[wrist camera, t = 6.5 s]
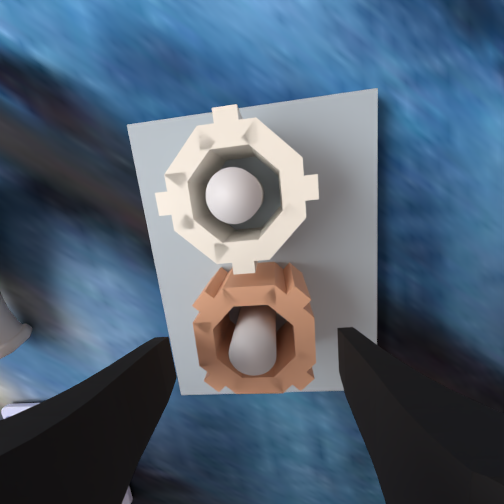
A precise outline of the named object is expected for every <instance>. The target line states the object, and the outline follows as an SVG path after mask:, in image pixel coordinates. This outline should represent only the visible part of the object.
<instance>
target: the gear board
mask: <svg viewBox="0 0 504 504" xmlns="http://www.w3.org/2000/svg"><path fill="white" fill-rule="evenodd" d="M239 111H240V113H241V115H242V118H243V119H248V118H255V117H256V118H258V119H259V120H260V121H261V122H262V123H263V124H264V125H266V126H267V127H268V128H269V129H270V130H271V131H273V132H274V133H275V134H276V135H277V136H278V137H280V138H281V139H282V140H283V141H284V142H285V143H286V144H288V145H289V146H290V147H291V148H292V149H293V150H295V151H296V152H297V153H298V154H299V155H300V156H302V157H303V171H304V176H305V175H314V174H318V189H319V199H317V200H307V201H305V204H306V218H305V220H304V221H303V222H302V223H301V224H300V225H299V227H298V228H297V229H296V230H295V231H294V232H293V233H292V235H291V236H290V237H289V238H288V239H287V240H286V242H285V243H284V244H283V245H282V246H281V247H280V248H279V250H278V251H277V252H276V253H275V254H274V255H273V256H272V258H271V259H270V260H260V261H258V263H263V262H275V263H277V264H278V265H279V266H280V267H281V268H283V269H284V268H285V267H286V266H287V265H288V263H289V262H290V263H291V264H292V265H293V266H294V267H296V268H297V269H298V270H299V271H300V272H302V274H303V277H304V280H305V283H306V286H307V289H308V291H309V294H310V297H311V301H310V305H311V309H312V312H313V315H314V321H315V346H316V364H314V365H313V366H312V369H313V373H314V378H315V379H314V380H313V381H312V382H311V383H309V384H308V385H307V386H306V387H305V388H304V389H303V390H302V391H300V390H299V389H297V388H296V387H295V386H293V385H291V386H290V387H289V388H288V389H287V390H286V391H285V392H308V391H343V390H344V388H343V385H342V381H341V377H340V374H339V361H338V333H337V328H344V327H354V328H355V329H356V330H358V331H359V332H360V333H362V334H363V335H364V336H366V337H367V338H368V339H370V340H371V341H373V342H374V343H375V344H377V164H378V88H375V89H368V90H361V91H354V92H347V93H340V94H334V95H327V96H320V97H313V98H306V99H300V100H293V101H286V102H279V103H272V104H265V105H259V106H252V107H245V108H239ZM212 123H214V122H213V114H212V112H211V113H204V114H197V115H190V116H184V117H177V118H170V119H163V120H156V121H149V122H143V123H136V124H129V125H127V128H128V133H129V138H130V143H131V148H132V153H133V158H134V163H135V168H136V173H137V178H138V183H139V187H140V192H141V197H142V202H143V207H144V212H145V217H146V222H147V227H148V232H149V237H150V242H151V247H152V252H153V257H154V262H155V267H156V272H157V277H158V282H159V287H160V292H161V297H162V302H163V306H164V311H165V316H166V321H167V326H168V331H169V336H170V341H171V346H172V351H173V356H174V361H175V366H176V371H177V376H178V381H179V386H180V391H181V395H203V394H236V393H234V392H233V391H232V390H230V389H229V388H228V387H226V386H225V387H224V388H223V389H222V390H221V391H220V392H218V391H216V390H215V389H214V388H212V387H211V386H210V385H208V384H207V383H206V382H204V379H205V376H206V373H207V371H205V370H204V369H203V368H201V367H200V366H199V360H198V354H197V348H196V342H195V335H194V329H193V321H194V320H195V318H196V316H197V315H198V313H199V311H198V310H197V309H195V308H194V307H193V306H192V305H193V304H194V302H195V301H196V299H197V298H198V296H199V295H200V294H201V292H202V291H203V289H204V288H205V287H206V285H207V284H208V282H209V281H210V280H211V278H212V277H213V276H214V275H215V273H216V272H217V271H218V270H219V269H220V267H222V268H223V269H224V270H226V271H227V272H229V271H230V270H231V269H232V263H224V264H216V263H215V262H213V261H212V260H211V259H210V258H208V257H207V256H206V255H205V254H203V253H202V252H201V251H199V250H198V249H197V248H196V247H194V246H193V245H192V244H191V243H189V242H188V241H187V240H185V239H184V238H183V237H182V236H180V235H179V234H178V233H177V232H175V231H174V227H173V221H172V216H171V215H165V216H159V212H158V207H157V202H156V197H155V193H158V192H167V188H166V182H165V177H164V174H165V173H166V171H167V170H168V168H169V167H170V165H171V164H172V162H173V161H174V159H175V158H176V156H177V155H178V153H179V152H180V150H181V149H182V147H183V146H184V144H185V143H186V141H187V140H188V138H189V137H190V135H191V134H192V132H193V131H194V129H195V128H196V126H198V125H205V124H212ZM206 202H207V205H208V208H209V210H210V211H211V213H212V214H213V215H214V216H215V217H216V218H217V219H219V220H220V221H222V222H225V223H228V224H229V225H230V226H231V227H233V228H234V229H235V230H237V229H248V228H258V227H263V226H264V225H265V223H266V222H267V221H268V220H269V219H270V217H271V216H272V215H273V214H274V212H275V211H276V210H277V209H278V208H279V206H280V193H279V181H278V175H276V174H275V173H274V172H273V171H272V170H271V169H269V168H268V167H267V166H266V165H265V164H263V163H262V162H261V161H260V160H259V159H258V158H256V157H249V158H241V159H233V160H227V161H226V162H225V163H224V165H223V166H222V167H221V169H220V170H219V171H218V172H217V173H215V174H214V175H213V176H212V178H211V179H210V181H209V183H208V185H207V188H206ZM229 318H230V321H232V322H233V323H234V324H235V325H236V326H235V330H234V333H233V337H232V341H231V344H230V348H229V359H230V362H231V363H232V365H233V366H234V367H235V368H236V369H237V370H238V371H240V372H241V373H243V374H246V375H252V376H256V375H261V374H264V373H266V372H268V371H269V370H270V369H271V368H272V367H273V366H274V364H275V362H276V332H277V331H278V330H279V329H280V328H281V327H282V326H283V325H284V324H285V323H286V322H287V320H286V319H285V318H283V317H282V316H281V315H280V314H279V313H277V312H276V311H275V310H274V309H272V308H271V307H270V306H269V305H254V306H233V308H232V309H231V310H230V311H229Z"/></svg>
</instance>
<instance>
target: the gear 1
mask: <svg viewBox="0 0 504 504" xmlns="http://www.w3.org/2000/svg"><path fill="white" fill-rule="evenodd" d="M212 114H213V122H214V123H212V124H205V125H198V126H196V128H195V129H194V131H193V132H192V134H191V135H190V137H189V138H188V140H187V141H186V143H185V144H184V146H183V147H182V149H181V150H180V152H179V153H178V155H177V156H176V158H175V159H174V161H173V162H172V164H171V165H170V167H169V168H168V170H167V171H166V173H165V174H164V177H165V182H166V188H167V192H158V193H155V197H156V202H157V207H158V212H159V216H165V215H171V216H172V221H173V227H174V231H175V232H177V233H178V234H179V235H180V236H182V237H183V238H184V239H185V240H187V241H188V242H189V243H191V244H192V245H193V246H194V247H196V248H197V249H198V250H199V251H201V252H202V253H203V254H205V255H206V256H207V257H208V258H210V259H211V260H212V261H213V262H215V263H216V264H224V263H232V267H233V275H235V274H247V273H255V272H256V268H257V263H258V261H260V260H270V259H271V258H272V256H273V255H274V254H275V253H276V252H277V251H278V250H279V248H280V247H281V246H282V245H283V244H284V243H285V242H286V240H287V239H288V238H289V237H290V236H291V235H292V233H293V232H294V231H295V230H296V229H297V228H298V227H299V225H300V224H301V223H302V222H303V221H304V220H305V218H306V204H305V201H307V200H317V199H319V189H318V174H314V175H305V176H304V171H303V157H302V156H300V155H299V154H298V153H297V152H296V151H295V150H293V149H292V148H291V147H290V146H289V145H288V144H286V143H285V142H284V141H283V140H282V139H281V138H280V137H278V136H277V135H276V134H275V133H274V132H273V131H271V130H270V129H269V128H268V127H267V126H266V125H264V124H263V123H262V122H261V121H260V120H259V119H258V118H256V117H255V118H248V119H243V118H242V115H241V113H240V111H239V108H238V106H237V104H235V105H228V106H222V107H215V108H212ZM249 157H256V158H258V159H259V160H260V161H261V162H262V163H263V164H265V165H266V166H267V167H268V168H269V169H271V170H272V171H273V172H274V173H275V174H276V175H278V181H279V193H280V206H279V208H278V209H277V210H276V211H275V212H274V214H273V215H272V216H271V217H270V219H269V220H268V221H267V222H266V223H265V225H264V226H263V227H258V228H248V229H237V230H235V229H234V228H233V227H231V226H230V225H229V224H228V223H225V222H222V221H220V220H219V219H217V218H216V217H215V216H214V215H213V214H212V213H211V211H210V210H209V208H208V205H207V202H206V188H207V185H208V183H209V181H210V179H211V178H212V176H213V175H214V174H215V173H217V172H218V171H219V170H220V169H221V167H222V166H223V165H224V163H225V162H226V161H227V160H233V159H241V158H249Z"/></svg>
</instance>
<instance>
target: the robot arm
mask: <svg viewBox="0 0 504 504" xmlns="http://www.w3.org/2000/svg"><path fill="white" fill-rule="evenodd" d="M337 333H338V361H339V374H340V377H341V381H342V385H343V388H344V392H345V395H346V398H347V400H348V403H349V405H350V408H351V410H352V413H353V415H354V418H355V420H356V423H357V425H358V427H359V430H360V432H361V435H362V437H363V440H364V442H365V445H366V447H367V449H368V452H369V454H370V457H371V459H372V462H373V465H374V468H375V470H376V473H377V476H378V479H379V483H380V486H381V489H382V492H383V495H384V498H385V502H386V504H504V413H501V412H499V411H497V410H494V409H492V408H489V407H487V406H485V405H483V404H480V403H478V402H476V401H474V400H472V399H469V398H467V397H465V396H463V395H461V394H459V393H457V392H455V391H453V390H451V389H449V388H447V387H445V386H443V385H441V384H439V383H437V382H435V381H433V380H432V379H430V378H428V377H426V376H424V375H423V374H421V373H419V372H417V371H416V370H414V369H412V368H411V367H409V366H408V365H406V364H405V363H403V362H401V361H400V360H398V359H397V358H395V357H394V356H392V355H391V354H389V353H388V352H386V351H385V350H384V349H382V348H381V347H379V346H378V345H377V344H375V343H374V342H373V341H371V340H370V339H368V338H367V337H366V336H364V335H363V334H362V333H360V332H359V331H358V330H356V329H355V328H354V327H344V328H337ZM175 381H176V372H175V367H174V362H173V357H172V352H171V347H170V343H169V338H168V337H157V338H153V339H151V340H149V341H148V342H146V343H144V344H143V345H141V346H139V347H138V348H136V349H135V350H133V351H132V352H130V353H128V354H127V355H125V356H124V357H122V358H121V359H119V360H117V361H116V362H114V363H113V364H111V365H109V366H108V367H106V368H104V369H103V370H101V371H99V372H98V373H96V374H94V375H93V376H91V377H89V378H88V379H86V380H84V381H83V382H81V383H79V384H77V385H75V386H73V387H72V388H70V389H68V390H66V391H64V392H62V393H60V394H58V395H56V396H54V397H52V398H50V399H48V400H46V401H44V402H41V403H19V404H7V405H6V406H5V407H4V408H2V410H1V413H2V416H3V418H4V419H3V420H0V504H131V502H132V500H133V497H132V494H131V490H130V487H129V484H130V481H131V479H132V476H133V474H134V471H135V469H136V467H137V465H138V462H139V460H140V458H141V456H142V454H143V452H144V450H145V448H146V446H147V444H148V442H149V440H150V438H151V436H152V434H153V432H154V430H155V428H156V426H157V424H158V422H159V420H160V418H161V415H162V413H163V411H164V409H165V407H166V405H167V403H168V401H169V398H170V395H171V393H172V390H173V387H174V384H175Z"/></svg>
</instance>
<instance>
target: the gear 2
mask: <svg viewBox="0 0 504 504" xmlns="http://www.w3.org/2000/svg"><path fill="white" fill-rule="evenodd" d="M310 301H311V297H310V294H309V291H308V289H307V286H306V283H305V280H304V277H303V274H302V272H300V271H299V270H298V269H297V268H296V267H294V266H293V265H292V264H291V263H290V262H289V263H288V265H287V266H286V267H285V268H284V269H283V268H281V267H280V266H279V265H278V264H277V263H275V262H263V263H257V268H256V272H255V273H247V274H235V275H233V267H232V269H231V270H230V271H229V272H227V271H226V270H224V269H223V268H222V267H220V269H219V270H218V271H217V272H216V273H215V275H214V276H213V277H212V278H211V280H210V281H209V282H208V284H207V285H206V287H205V288H204V289H203V291H202V292H201V294H200V295H199V296H198V298H197V299H196V301H195V302H194V304H193V305H192V306H193V307H194V308H195V309H197V310H198V311H199V313H198V315H197V316H196V318H195V320H194V321H193V329H194V335H195V342H196V348H197V354H198V360H199V366H200V367H201V368H203V369H204V370H205V371H207V373H206V376H205V379H204V382H206V383H207V384H208V385H210V386H211V387H212V388H214V389H215V390H216V391H218V392H220V391H221V390H222V389H223V388H224V387H225V386H226V387H228V388H229V389H230V390H232V391H233V392H234V393H236V394H261V393H284V392H285V391H286V390H287V389H288V388H289V387H290V386H291V385H293V386H295V387H296V388H297V389H299V390H300V391H302V390H303V389H304V388H305V387H306V386H307V385H308V384H309V383H311V382H312V381H313V380H314V379H315V378H314V373H313V369H312V366H313V365H314V364H316V346H315V321H314V315H313V312H312V309H311V305H310ZM254 305H269V306H270V307H271V308H272V309H274V310H275V311H276V312H277V313H279V314H280V315H281V316H282V317H283V318H285V319H286V320H287V322H286V323H285V324H284V325H283V326H282V327H281V328H280V329H279V330H278V331H277V332H276V362H275V364H274V366H273V367H272V368H271V369H270V370H269V371H268V372H266V373H264V374H261V375H256V376H252V375H246V374H243V373H241V372H240V371H238V370H237V369H236V368H235V367H234V366H233V365H232V363H231V362H230V359H229V348H230V344H231V341H232V337H233V333H234V330H235V326H236V325H235V324H234V323H233V322H232V321H230V318H229V311H230V310H231V309H232V308H233V306H254Z"/></svg>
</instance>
